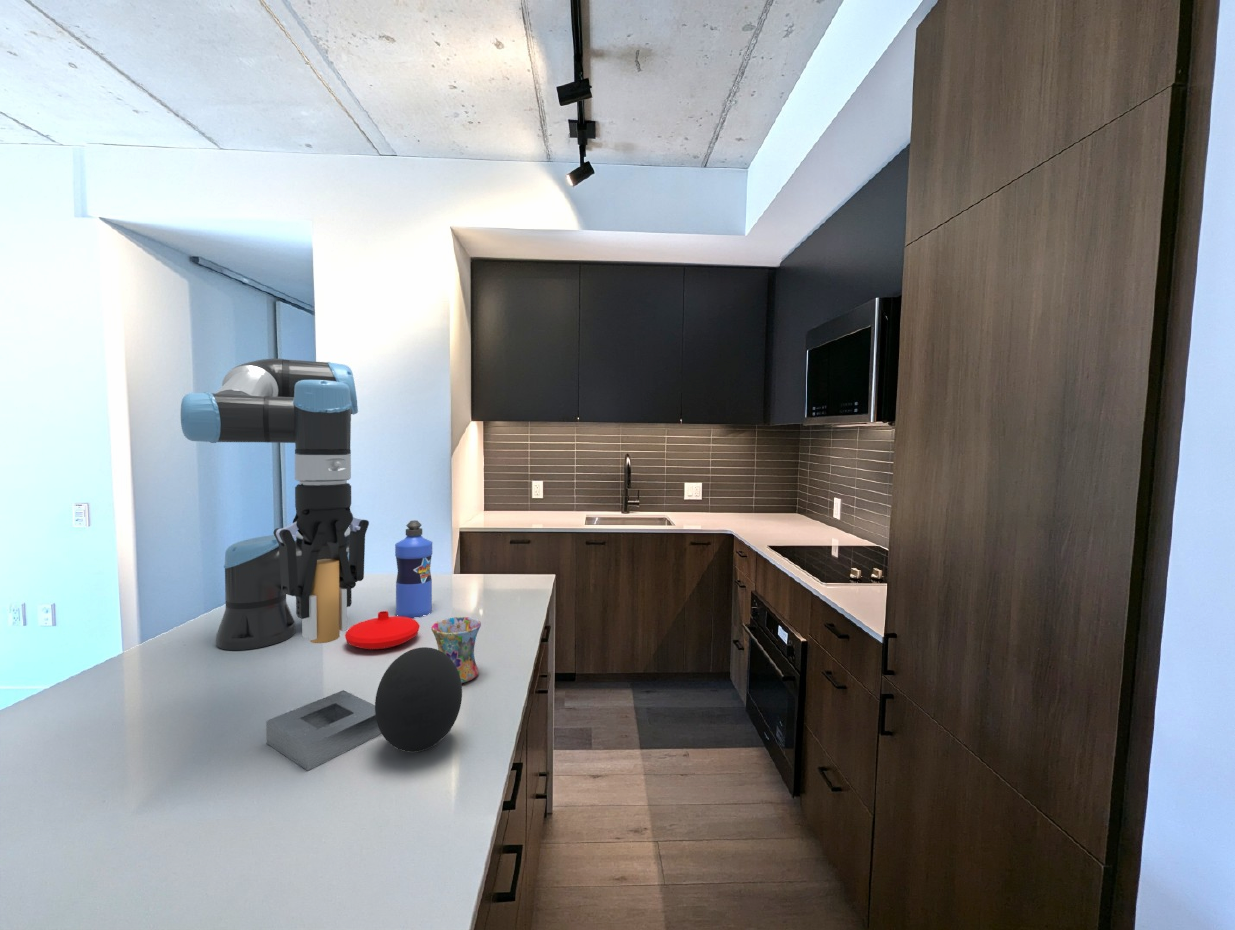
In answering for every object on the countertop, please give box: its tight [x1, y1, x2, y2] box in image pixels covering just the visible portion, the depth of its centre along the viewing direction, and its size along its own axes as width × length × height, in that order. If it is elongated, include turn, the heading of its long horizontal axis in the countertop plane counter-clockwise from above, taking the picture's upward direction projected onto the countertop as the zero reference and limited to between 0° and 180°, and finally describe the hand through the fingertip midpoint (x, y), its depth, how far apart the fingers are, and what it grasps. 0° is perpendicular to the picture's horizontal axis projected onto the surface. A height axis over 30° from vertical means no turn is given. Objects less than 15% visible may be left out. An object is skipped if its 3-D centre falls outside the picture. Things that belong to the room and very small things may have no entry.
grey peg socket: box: [265, 689, 382, 771], centre depth 81 cm, size 12×12×4 cm
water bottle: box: [394, 519, 433, 619], centre depth 140 cm, size 9×9×25 cm
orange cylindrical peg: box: [309, 559, 341, 644], centre depth 81 cm, size 4×4×12 cm
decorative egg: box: [374, 647, 463, 753], centre depth 79 cm, size 12×12×15 cm
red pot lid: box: [344, 610, 421, 650], centre depth 120 cm, size 16×16×7 cm
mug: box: [430, 616, 482, 684], centre depth 104 cm, size 12×9×11 cm
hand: (325, 632), depth 81 cm, fingers closed on orange cylindrical peg, 4 cm apart
